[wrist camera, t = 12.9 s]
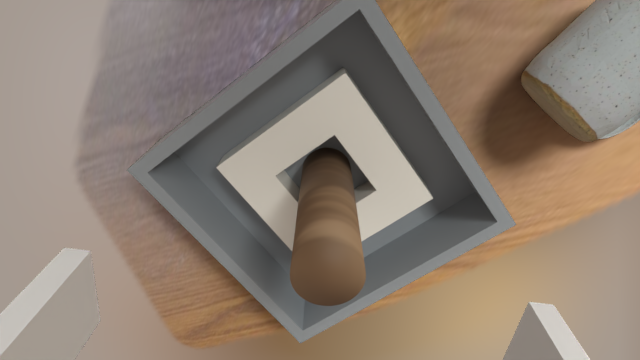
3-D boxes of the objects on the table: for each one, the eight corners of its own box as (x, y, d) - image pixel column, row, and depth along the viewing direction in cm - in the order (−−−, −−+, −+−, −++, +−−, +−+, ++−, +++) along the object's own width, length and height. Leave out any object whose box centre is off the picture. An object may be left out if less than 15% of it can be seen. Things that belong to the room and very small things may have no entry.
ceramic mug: (497, 69, 32) (546, 94, 25) (589, -20, 30) (672, -20, 23) (579, 153, 35) (642, 196, 28) (669, 78, 33) (763, 106, 26)
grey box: (357, -17, 30) (364, -18, 24) (487, 189, 36) (516, 224, 31) (157, 141, 35) (126, 169, 30) (303, 296, 42) (300, 343, 36)
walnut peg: (332, 138, 34) (336, 230, 21) (360, 175, 35) (380, 283, 22) (292, 165, 35) (274, 269, 22) (321, 200, 36) (319, 317, 23)
